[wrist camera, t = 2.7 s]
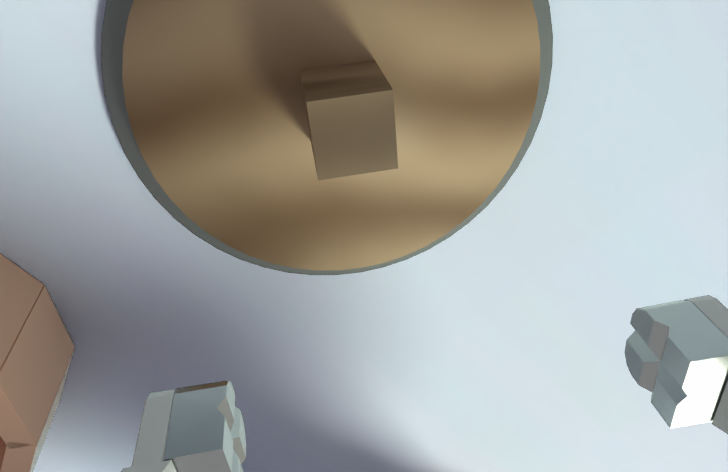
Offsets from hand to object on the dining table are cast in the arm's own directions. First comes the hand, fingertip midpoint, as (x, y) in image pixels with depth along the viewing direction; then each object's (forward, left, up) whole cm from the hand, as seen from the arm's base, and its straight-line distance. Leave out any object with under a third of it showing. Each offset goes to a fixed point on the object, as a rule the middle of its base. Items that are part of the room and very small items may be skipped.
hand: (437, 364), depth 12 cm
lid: (0, 0, -17) cm, 17 cm away
